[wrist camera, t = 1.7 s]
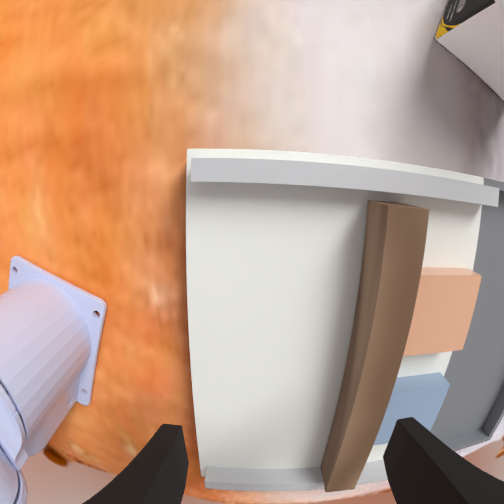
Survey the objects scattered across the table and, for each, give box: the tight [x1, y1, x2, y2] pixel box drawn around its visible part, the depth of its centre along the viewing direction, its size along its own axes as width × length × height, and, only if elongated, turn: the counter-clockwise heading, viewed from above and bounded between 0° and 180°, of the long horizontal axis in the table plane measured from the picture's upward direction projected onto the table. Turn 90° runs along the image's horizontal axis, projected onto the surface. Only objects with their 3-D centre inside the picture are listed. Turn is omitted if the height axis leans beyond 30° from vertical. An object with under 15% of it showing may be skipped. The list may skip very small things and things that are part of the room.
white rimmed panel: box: [186, 149, 499, 491], centre depth 17 cm, size 16×22×4 cm
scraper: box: [320, 200, 429, 492], centre depth 15 cm, size 2×18×2 cm, turn 178°
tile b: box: [374, 372, 450, 445], centre depth 17 cm, size 4×4×2 cm
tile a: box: [403, 267, 482, 356], centre depth 15 cm, size 4×4×2 cm
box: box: [430, 178, 504, 451], centre depth 18 cm, size 10×22×2 cm, turn 178°
